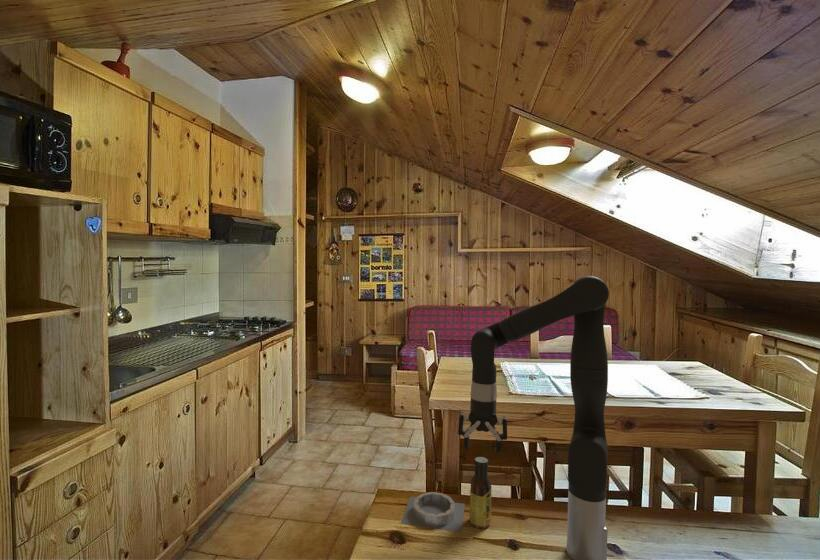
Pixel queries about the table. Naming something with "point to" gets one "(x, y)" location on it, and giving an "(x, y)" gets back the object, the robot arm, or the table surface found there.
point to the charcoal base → (435, 509)
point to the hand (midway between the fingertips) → (481, 450)
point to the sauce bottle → (480, 495)
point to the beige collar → (431, 518)
